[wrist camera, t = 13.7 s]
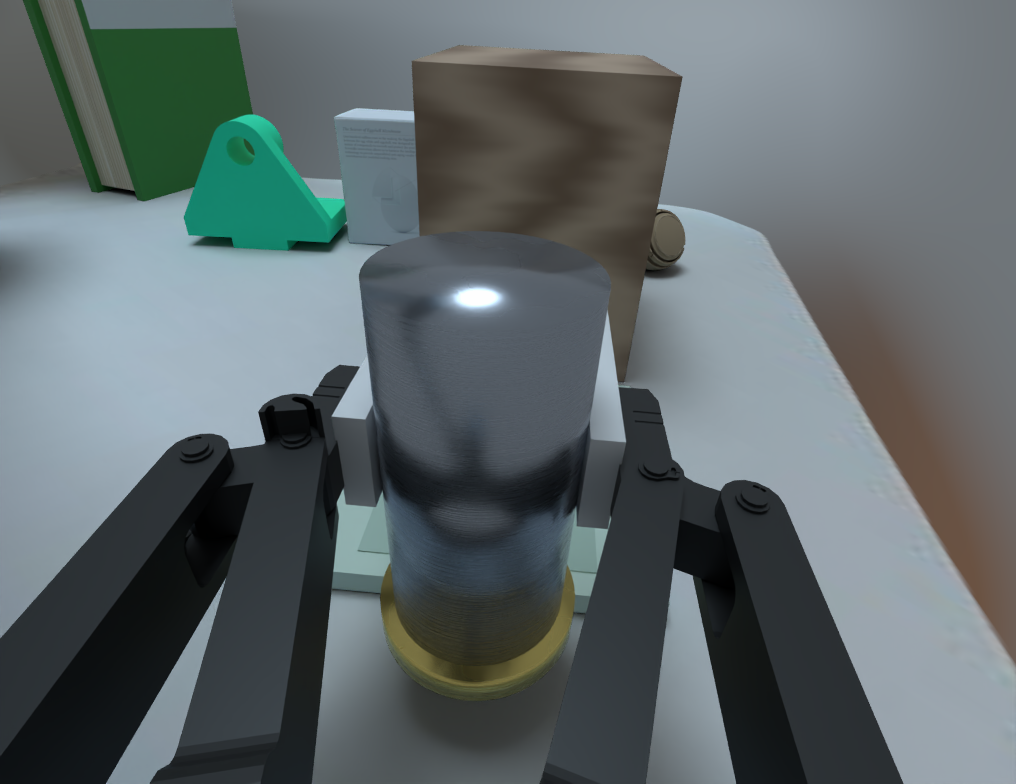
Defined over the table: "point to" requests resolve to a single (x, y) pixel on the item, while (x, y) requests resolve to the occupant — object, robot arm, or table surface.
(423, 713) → the table surface
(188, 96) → the hardback book
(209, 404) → the table surface
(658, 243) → the door knob
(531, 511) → the grey glass cylinder
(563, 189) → the block
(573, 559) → the pad
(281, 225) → the camera mount
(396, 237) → the skincare box
